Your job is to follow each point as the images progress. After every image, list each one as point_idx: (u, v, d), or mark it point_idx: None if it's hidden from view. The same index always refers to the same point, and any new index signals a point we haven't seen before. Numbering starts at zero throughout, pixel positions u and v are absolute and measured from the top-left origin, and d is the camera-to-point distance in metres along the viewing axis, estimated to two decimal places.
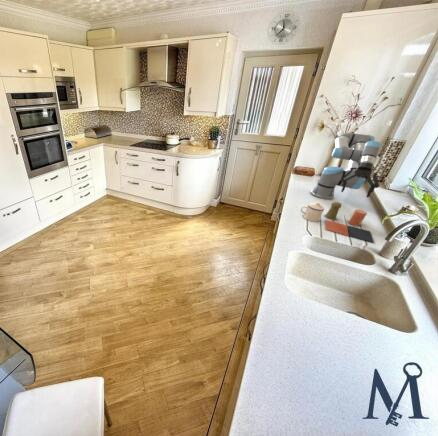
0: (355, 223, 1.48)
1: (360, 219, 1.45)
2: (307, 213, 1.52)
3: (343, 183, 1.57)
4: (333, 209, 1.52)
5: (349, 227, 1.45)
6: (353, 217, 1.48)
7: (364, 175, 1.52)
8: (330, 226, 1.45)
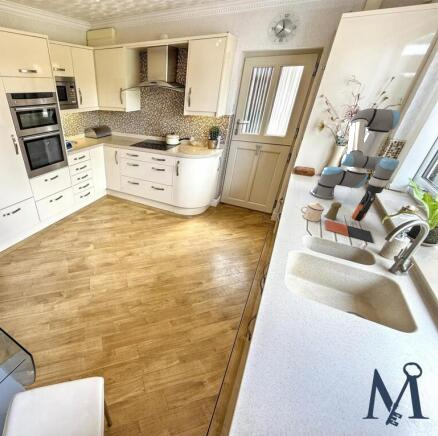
0: None
1: None
2: (307, 213, 1.52)
3: (363, 214, 1.43)
4: (333, 209, 1.52)
5: (349, 227, 1.45)
6: (355, 212, 1.46)
7: None
8: (330, 226, 1.45)
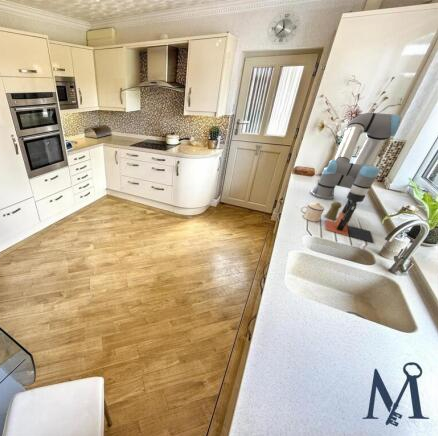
0: None
1: None
2: (307, 213, 1.52)
3: (344, 223, 1.38)
4: (333, 209, 1.52)
5: (349, 227, 1.45)
6: (337, 221, 1.41)
7: None
8: (330, 226, 1.45)
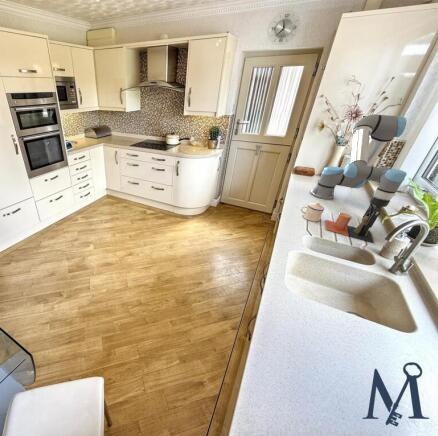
0: (339, 227, 1.41)
1: (345, 223, 1.39)
2: (307, 213, 1.52)
3: None
4: (364, 224, 1.35)
5: (349, 227, 1.45)
6: (337, 221, 1.41)
7: None
8: (330, 226, 1.45)
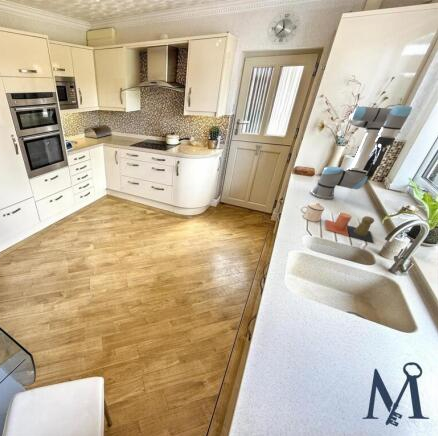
0: (339, 227, 1.41)
1: (345, 223, 1.39)
2: (307, 213, 1.52)
3: (375, 168, 1.31)
4: (364, 224, 1.35)
5: (349, 227, 1.45)
6: (337, 221, 1.41)
7: None
8: (330, 226, 1.45)
